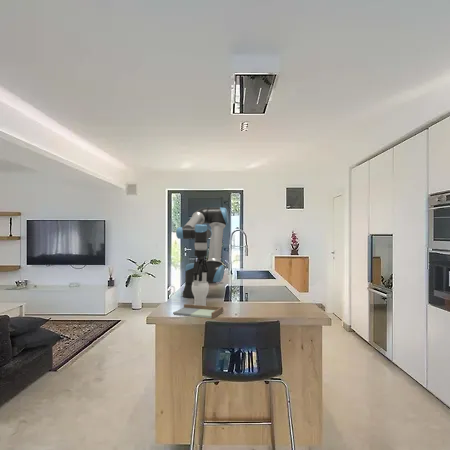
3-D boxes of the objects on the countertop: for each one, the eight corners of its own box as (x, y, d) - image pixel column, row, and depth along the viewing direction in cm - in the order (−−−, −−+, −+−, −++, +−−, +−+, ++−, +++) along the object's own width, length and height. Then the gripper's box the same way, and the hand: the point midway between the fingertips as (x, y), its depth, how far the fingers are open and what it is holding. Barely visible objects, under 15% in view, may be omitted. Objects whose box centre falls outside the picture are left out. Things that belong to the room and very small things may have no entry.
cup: (192, 308, 256) (192, 283, 256) (190, 305, 267) (190, 281, 266) (210, 308, 258) (210, 283, 258) (207, 304, 269) (207, 280, 269)
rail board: (184, 309, 255) (184, 304, 255) (222, 312, 247) (222, 307, 247) (173, 314, 240) (173, 309, 240) (213, 318, 232) (213, 312, 232)
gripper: (202, 248, 275) (201, 281, 275) (187, 250, 251) (186, 286, 251) (213, 248, 273) (212, 282, 273) (199, 250, 249) (198, 287, 249)
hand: (200, 284), depth 262 cm, fingers open, 13 cm apart
